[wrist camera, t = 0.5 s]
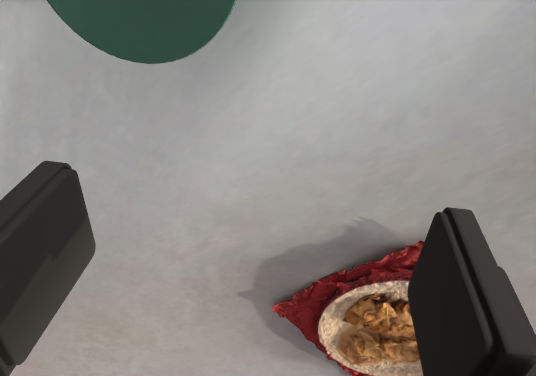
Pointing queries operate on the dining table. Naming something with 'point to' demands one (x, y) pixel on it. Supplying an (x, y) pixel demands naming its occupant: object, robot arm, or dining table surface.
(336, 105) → the dining table surface
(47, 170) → the robot arm
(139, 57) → the lid
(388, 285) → the plate with food
